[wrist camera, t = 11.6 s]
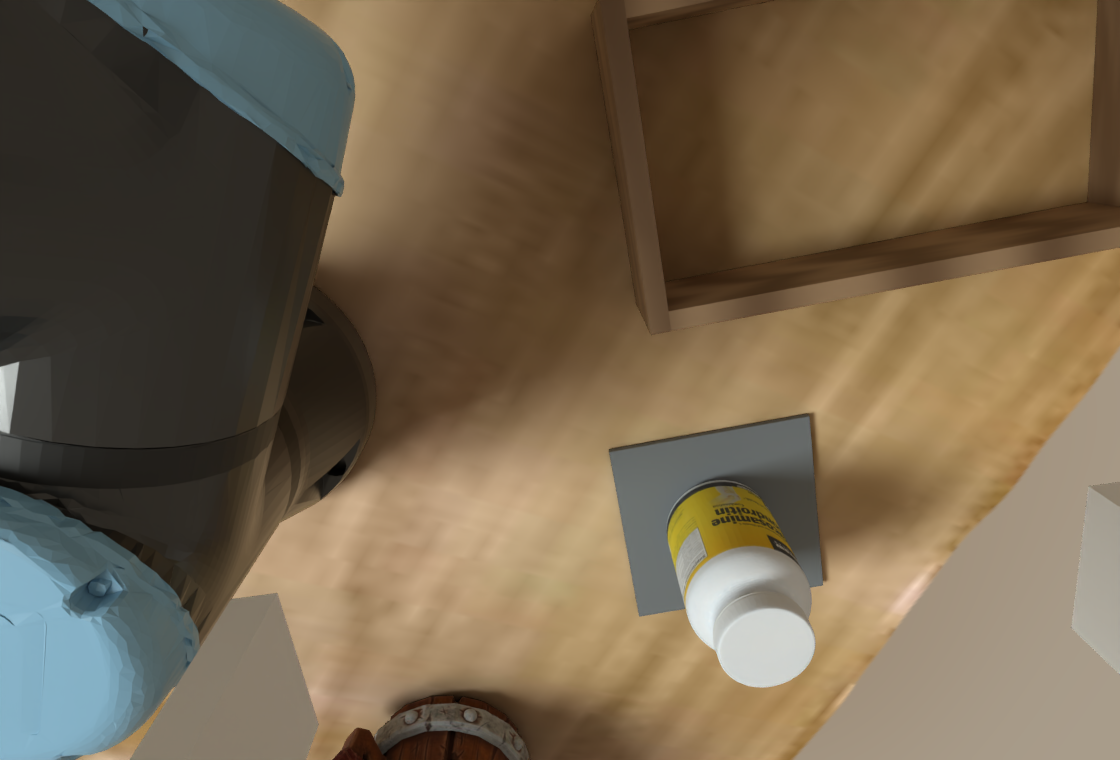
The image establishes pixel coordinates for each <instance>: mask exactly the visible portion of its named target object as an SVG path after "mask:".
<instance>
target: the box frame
mask: <svg viewBox="0 0 1120 760" xmlns="http://www.w3.org/2000/svg"><path fill="white" fill-rule="evenodd" d="M767 1H772V0H598V1H597V3H596V5H595V7H594V10H593V12H592V14H591V19H592V26H593V32H594V38H595V45H596V51H597V57H598V64H599V70H600V76H601V83H602V89H603V95H604V102H605V108H606V115H607V121H608V127H609V134H610V140H611V146H612V153H613V159H614V165H615V172H616V178H617V184H618V191H619V197H620V203H621V210H622V216H623V222H624V229H625V235H626V241H627V248H628V254H629V260H630V267H631V273H632V279H633V286H634V292H635V298H636V305H637V307H638V309H639V311H640V313H641V315H642V317H643V319H644V321H645V323H646V326H647V328H648V330H649V332H650V334H651V335H653V334H659V333H664V332H669V331H675V330H680V329H686V328H691V327H696V326H702V325H707V324H712V323H718V322H723V321H728V320H734V319H739V318H745V317H750V316H755V315H761V314H766V313H771V312H777V311H782V310H787V309H793V308H798V307H804V306H809V305H814V304H820V303H825V302H830V301H836V300H841V299H846V298H852V297H857V296H863V295H868V294H873V293H879V292H884V291H889V290H895V289H900V288H905V287H911V286H916V285H922V284H927V283H932V282H938V281H943V280H948V279H954V278H959V277H964V276H970V275H975V274H981V273H986V272H991V271H997V270H1002V269H1007V268H1013V267H1018V266H1023V265H1029V264H1034V263H1040V262H1045V261H1050V260H1056V259H1061V258H1066V257H1072V256H1077V255H1082V254H1088V253H1093V252H1099V251H1104V250H1109V249H1115V248H1120V0H1098V6H1097V26H1096V45H1095V65H1094V84H1093V104H1092V123H1091V143H1090V162H1089V182H1088V201H1087V202H1085V203H1080V204H1075V205H1069V206H1064V207H1059V208H1054V209H1048V210H1043V211H1038V212H1033V213H1027V214H1022V215H1017V216H1011V217H1006V218H1001V219H996V220H990V221H985V222H980V223H974V224H969V225H964V226H959V227H953V228H948V229H943V230H937V231H932V232H927V233H922V234H916V235H911V236H906V237H900V238H895V239H890V240H885V241H879V242H874V243H869V244H864V245H858V246H853V247H848V248H842V249H837V250H832V251H827V252H821V253H816V254H811V255H805V256H800V257H795V258H790V259H784V260H779V261H774V262H768V263H763V264H758V265H753V266H747V267H742V268H737V269H732V270H726V271H721V272H716V273H710V274H705V275H700V276H695V277H689V278H684V279H679V280H673V281H668V282H664V276H663V269H662V262H661V255H660V248H659V241H658V234H657V227H656V220H655V213H654V206H653V199H652V192H651V185H650V178H649V171H648V164H647V157H646V150H645V143H644V136H643V129H642V122H641V115H640V108H639V101H638V94H637V87H636V80H635V73H634V66H633V59H632V52H631V45H630V38H629V31H628V30H631V29H635V28H640V27H645V26H650V25H655V24H660V23H665V22H670V21H675V20H679V19H684V18H689V17H694V16H699V15H704V14H709V13H714V12H719V11H723V10H728V9H733V8H738V7H743V6H748V5H753V4H758V3H763V2H767Z"/></svg>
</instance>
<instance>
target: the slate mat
mask: <svg viewBox="0 0 1120 760" xmlns="http://www.w3.org/2000/svg"><path fill="white" fill-rule="evenodd" d="M609 454H610V459H611V465H612V470H613V476H614V481H615V486H616V492H617V497H618V503H619V508H620V514H621V519H622V525H623V530H624V536H625V541H626V547H627V552H628V557H629V563H630V568H631V574H632V579H633V585H634V590H635V596H636V601H637V607H638V612H639V617H640V616H645V615H651V614H657V613H663V612H669V611H675V610H681V609H685V605H684V601H683V597H682V594H681V590H680V586H679V582H678V578H677V575H676V571H675V567H674V563H673V559H672V556H671V552H670V548H669V545H668V540H667V532H666V528H667V520H668V517H669V514H670V511H671V509H672V507H673V506H674V504H675V503H676V502H677V500H678V499H679V498H680V497H681V496H682V495H683V494H684V493H686V492H687V491H688V490H690V489H691V488H693V487H695V486H697V485H699V484H702V483H705V482H709V481H715V480H727V481H734V482H737V483H741V484H743V485H745V486H747V487H749V488H751V489H752V490H754V491H755V492H756V493H757V494H758V495H759V496H760V497H761V498H762V499H763V500H764V502H765V503H766V505H767V507H768V508H769V510H770V512H771V514H772V515H773V518H774V519H775V521H776V523H777V525H778V526H779V528H780V530H781V532H782V533H783V535H784V537H785V539H786V541H787V543H788V544H789V546H790V548H791V550H792V552H793V553H794V555H795V557H796V559H797V561H798V563H799V565H800V567H801V568H802V570H803V572H804V574H805V575H806V578H807V580H808V583H809V586H810V587H816V586H822V585H823V578H822V565H821V553H820V541H819V528H818V516H817V504H816V491H815V479H814V466H813V454H812V442H811V429H810V417H809V415H808V414H803V415H797V416H792V417H786V418H781V419H775V420H770V421H764V422H758V423H753V424H747V425H742V426H736V427H731V428H725V429H720V430H714V431H709V432H703V433H697V434H692V435H686V436H681V437H675V438H670V439H664V440H659V441H653V442H647V443H642V444H636V445H631V446H625V447H620V448H614V449H609Z"/></svg>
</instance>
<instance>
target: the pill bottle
mask: <svg viewBox="0 0 1120 760" xmlns="http://www.w3.org/2000/svg"><path fill="white" fill-rule="evenodd" d="M666 532H667V540H668V545H669V548H670V552H671V556H672V559H673V563H674V567H675V571H676V575H677V578H678V582H679V586H680V590H681V594H682V597H683V601H684V605H685V609H686V612H687V616H688V619H689V621H690V624H691V626H692V628H693V629H694V631H695V632H696V634H697V635H698V636H699V638H700V639H701V640H702V641H703V642H704V643H706V644H707V645H708V646H709V647H711V648H712V649H714V650H715V651H716V653H717V656H718V659H719V662H720V664H721V666H722V668H723V669H724V671H725V672H726V673H727V674H728V675H729V676H730V677H731V678H733V679H734V680H736V681H737V682H740V683H742V684H744V685H747V686H752V687H772V686H776V685H780V684H782V683H785V682H787V681H789V680H791V679H793V678H794V677H796V676H798V675H799V674H800V673H801V672H802V671H803V670H804V669H805V668H806V667H807V666H808V664H809V663H810V661H811V659H812V657H813V655H814V651H815V635H814V632H813V629H812V627H811V625H810V623H809V620H808V618H809V615H810V611H811V604H812V597H811V590H810V586H809V583H808V580H807V578H806V575H805V574H804V572H803V570H802V568H801V567H800V565H799V563H798V561H797V559H796V557H795V555H794V553H793V552H792V550H791V548H790V546H789V544H788V543H787V541H786V539H785V537H784V535H783V533H782V532H781V530H780V528H779V526H778V525H777V523H776V521H775V519H774V518H773V515H772V514H771V512H770V510H769V508H768V507H767V505H766V503H765V502H764V500H763V499H762V498H761V497H760V496H759V495H758V494H757V493H756V492H755V491H754V490H752V489H751V488H749V487H747V486H745V485H743V484H741V483H737V482H734V481H727V480H715V481H709V482H705V483H702V484H699V485H697V486H695V487H693V488H691V489H690V490H688V491H687V492H686V493H684V494H683V495H682V496H681V497H680V498H679V499H678V500H677V502H676V503H675V504H674V506H673V507H672V509H671V511H670V514H669V517H668V520H667V528H666Z"/></svg>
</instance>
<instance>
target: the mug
mask: <svg viewBox="0 0 1120 760" xmlns="http://www.w3.org/2000/svg"><path fill="white" fill-rule="evenodd" d="M333 760H530V758H529V754H528V751H527V747H526V744H525V743H524V741H523V740H522V737H521V735H519V734H517V728H516V727H515V726H514V724H513V723H512V722H511V721H510V720H509V718H508V717H507V716H506V715H505V714H504V713H502V712H500V711H498V710H497V709H495V708H493V707H492V706H490V705H488V704H487V703H485V702H483V701H479V700H475V699H471V698H466V697H462V698H461V699H460V701H459V702H455V699H454V697H453V696H432V697H428V698H425V699H422V700H420V701H417V702H414V703H411V704H408V705H406V706H404V707H403V708H402V709H400V710H399V711H398V712H397V713H395V714H394V715H393V716H391V720H390V721H389V722H387V723H385V725H384V726H383V727H381V728H380V729H379V730H378V731H377V733H376V734H375V736H374V738H373V736H372V734H371V732H370V730H366V729H362V728H356V729H355V730H354V731H353V732H352V733H351V734H350V736H349V737H348V738H347V739H346V741H345V743H344V746H343V748H342V750H341V751H340V752H339V753H338V754H337V755H336V756H335V758H334V759H333Z"/></svg>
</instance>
